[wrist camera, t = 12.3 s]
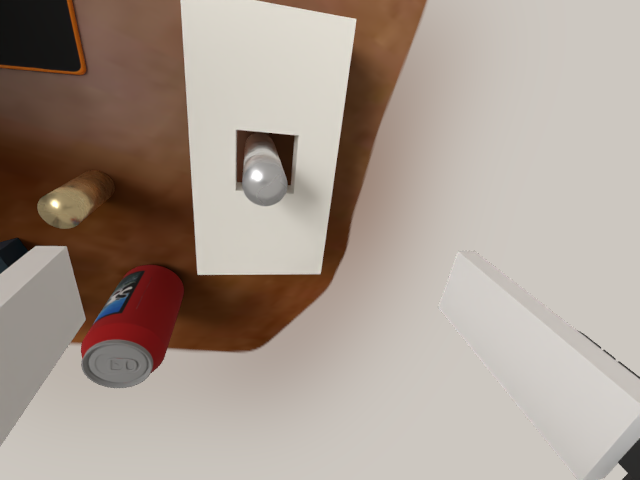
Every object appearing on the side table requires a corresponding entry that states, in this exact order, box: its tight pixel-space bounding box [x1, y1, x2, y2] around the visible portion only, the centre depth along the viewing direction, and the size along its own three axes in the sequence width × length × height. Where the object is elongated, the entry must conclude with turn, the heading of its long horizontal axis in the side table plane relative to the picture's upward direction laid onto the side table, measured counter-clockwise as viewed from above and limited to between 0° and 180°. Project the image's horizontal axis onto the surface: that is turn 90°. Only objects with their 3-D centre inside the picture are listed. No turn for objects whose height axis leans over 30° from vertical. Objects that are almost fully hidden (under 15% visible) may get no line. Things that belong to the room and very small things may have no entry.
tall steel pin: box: [242, 132, 287, 206], centre depth 27 cm, size 3×3×13 cm
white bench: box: [181, 0, 356, 275], centre depth 29 cm, size 12×22×7 cm, turn 173°
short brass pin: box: [37, 170, 115, 229], centre depth 28 cm, size 3×3×7 cm
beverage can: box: [81, 265, 184, 388], centre depth 32 cm, size 7×7×12 cm
